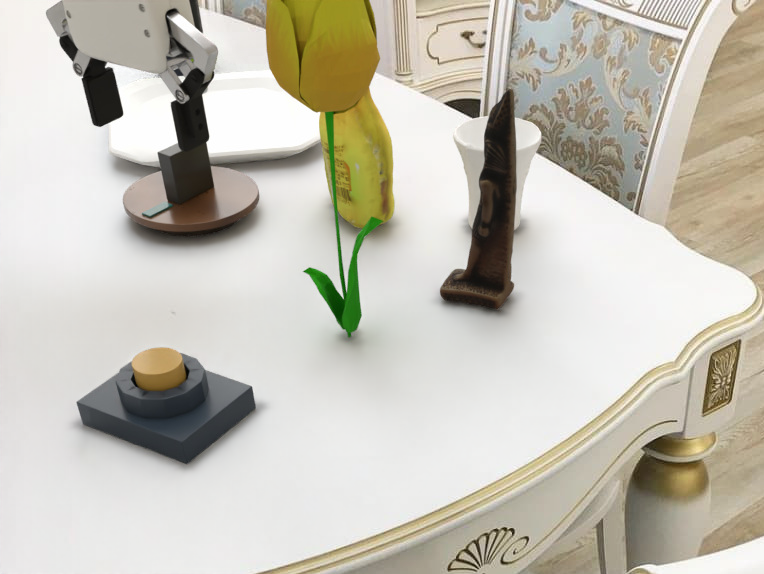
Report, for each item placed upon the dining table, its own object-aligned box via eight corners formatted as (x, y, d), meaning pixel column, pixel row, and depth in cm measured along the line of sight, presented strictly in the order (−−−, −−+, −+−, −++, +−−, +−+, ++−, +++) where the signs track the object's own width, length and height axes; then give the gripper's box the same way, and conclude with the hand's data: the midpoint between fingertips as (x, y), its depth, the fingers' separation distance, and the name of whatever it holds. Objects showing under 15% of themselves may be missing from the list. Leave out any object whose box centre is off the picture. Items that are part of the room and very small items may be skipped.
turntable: (191, 162, 124) (181, 108, 120) (286, 194, 119) (279, 139, 115) (95, 208, 116) (81, 152, 111) (193, 244, 110) (182, 187, 106)
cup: (435, 227, 117) (432, 131, 110) (494, 199, 122) (494, 105, 115) (497, 255, 113) (498, 157, 106) (555, 225, 118) (560, 129, 111)
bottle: (313, 196, 122) (290, -6, 107) (368, 186, 124) (353, -13, 109) (349, 244, 114) (330, 34, 100) (407, 232, 116) (396, 25, 102)
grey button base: (82, 424, 92) (69, 383, 89) (155, 372, 97) (145, 331, 94) (187, 464, 88) (177, 422, 85) (256, 408, 94) (249, 367, 91)
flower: (298, 360, 99) (247, -14, 77) (308, 313, 105) (263, -48, 83) (395, 360, 99) (371, -12, 78) (399, 314, 105) (378, -46, 83)
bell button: (125, 384, 90) (120, 365, 88) (158, 360, 92) (154, 342, 91) (164, 398, 88) (159, 379, 87) (196, 374, 91) (192, 355, 90)
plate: (309, 84, 144) (307, 66, 143) (334, 164, 128) (332, 144, 126) (112, 98, 140) (108, 79, 138) (112, 182, 123) (107, 162, 122)
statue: (454, 282, 109) (449, 66, 95) (521, 295, 108) (527, 78, 93) (438, 302, 107) (431, 83, 92) (507, 316, 105) (511, 96, 91)
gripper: (224, -94, 82) (258, 140, 95) (54, -126, 88) (107, 98, 100) (155, -71, 78) (200, 172, 90) (-20, -106, 83) (45, 127, 96)
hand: (151, 133), depth 95 cm, fingers open, 9 cm apart
